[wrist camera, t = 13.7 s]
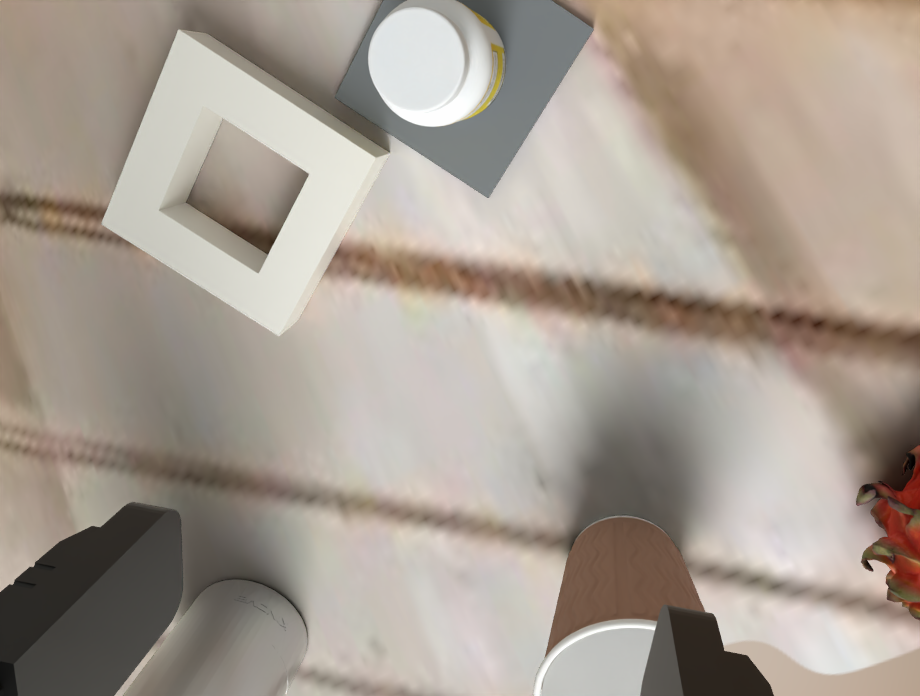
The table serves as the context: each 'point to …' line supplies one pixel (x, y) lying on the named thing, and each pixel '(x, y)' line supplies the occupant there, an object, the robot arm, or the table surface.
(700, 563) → the table surface
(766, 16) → the table surface
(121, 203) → the frame
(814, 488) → the table surface
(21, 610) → the robot arm
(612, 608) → the coffee cup
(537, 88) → the rubber pad
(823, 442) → the table surface
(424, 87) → the supplement bottle
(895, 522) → the dragon fruit
